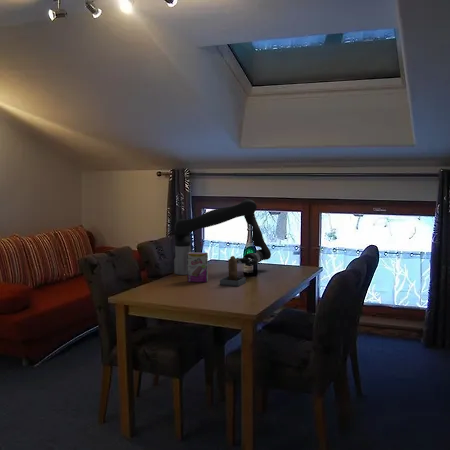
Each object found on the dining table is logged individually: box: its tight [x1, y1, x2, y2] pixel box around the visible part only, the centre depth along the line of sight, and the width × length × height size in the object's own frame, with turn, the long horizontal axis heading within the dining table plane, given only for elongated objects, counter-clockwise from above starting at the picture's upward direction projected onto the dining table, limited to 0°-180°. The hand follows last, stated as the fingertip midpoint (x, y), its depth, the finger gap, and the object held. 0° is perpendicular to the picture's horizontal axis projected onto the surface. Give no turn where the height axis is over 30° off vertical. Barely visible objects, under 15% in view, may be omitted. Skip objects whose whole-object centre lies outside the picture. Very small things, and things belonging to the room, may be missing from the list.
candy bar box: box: [187, 251, 209, 283], centre depth 293 cm, size 11×5×16 cm, turn 84°
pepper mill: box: [227, 255, 238, 281], centre depth 286 cm, size 5×5×15 cm
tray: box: [219, 275, 247, 287], centre depth 286 cm, size 11×10×3 cm
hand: (240, 263), depth 295 cm, fingers open, 8 cm apart
